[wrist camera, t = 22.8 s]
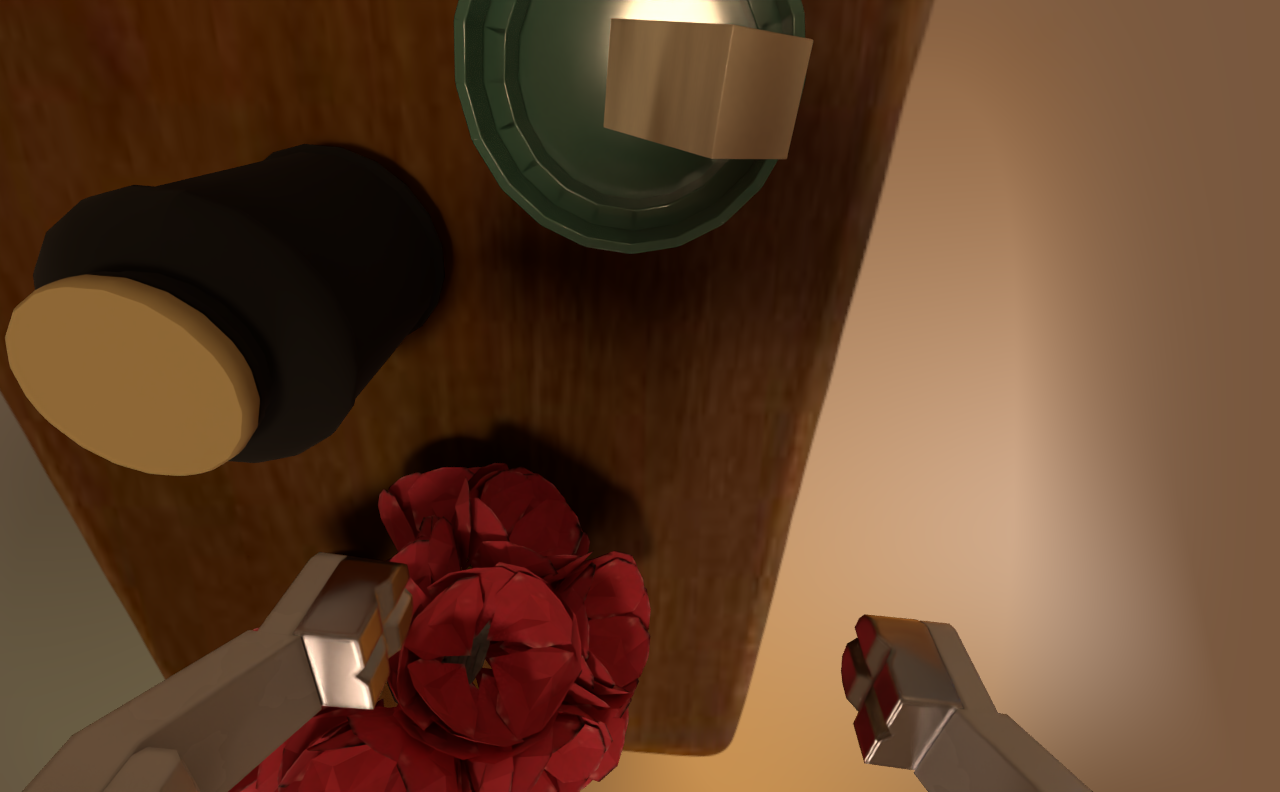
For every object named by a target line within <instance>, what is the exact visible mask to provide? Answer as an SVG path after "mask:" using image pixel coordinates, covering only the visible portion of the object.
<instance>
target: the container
mask: <svg viewBox="0 0 1280 792" xmlns="http://www.w3.org/2000/svg"><path fill="white" fill-rule="evenodd" d="M444 277H445V272H444V262H443V251H442V244H441V242H440V239H439V237H438V235H437V232H436V230H435V227H434V225H433V223H432V220H431V218H430V215H429V213H428V212H427V211H426V210H425V208H424V207H423V206H422V204H421V203H420V202H419V200H418V199H417V198H416V197H415V195H414V194H413V193H412V191H411V190H410V189H409V188H408V186H407V185H406V184H405V183H403V182H402V181H401V180H399V179H398V178H397V177H395V176H394V175H393V174H392V173H390V172H389V171H388V170H386V169H385V168H384V167H383V166H381V165H380V164H379V163H377V162H375V161H373V160H371V159H368V158H366V157H363V156H361V155H359V154H356V153H354V152H351V151H349V150H346V149H344V148H340V147H330V146H319V145H308V144H303V145H299V146H295V147H292V148H288V149H284V150H281V151H277V152H273V153H272V154H271V155H270V156H268V157H267V158H266V159H265V160H264V161H261V162H257V163H253V164H249V165H245V166H240V167H236V168H232V169H228V170H223V171H219V172H215V173H211V174H207V175H202V176H198V177H194V178H190V179H185V180H181V181H177V182H173V183H169V184H164V185H160V186H156V187H152V186H141V185H131V186H128V187H124V188H121V189H117V190H113V191H110V192H106V193H102V194H99V195H95V196H91V197H88V198H86V199H83V200H81V201H80V202H79V203H78V204H77V205H76V206H75V207H73V208H72V209H71V210H70V211H69V212H68V213H67V214H66V215H65V216H64V217H63V218H61V219H60V220H59V221H58V222H57V223H56V224H55V225H54V226H53V227H52V228H50V229H49V230H48V231H47V232H46V235H45V238H44V241H43V244H42V247H41V251H40V254H39V257H38V260H37V263H36V266H35V270H34V274H33V278H34V285H35V291H34V292H33V293H32V294H30V295H29V296H28V297H27V298H26V299H25V300H23V301H22V302H21V303H20V304H19V305H18V306H17V307H15V308H14V311H13V314H12V317H11V320H10V323H9V327H8V330H7V333H6V336H5V340H6V346H7V352H8V358H9V364H10V368H11V370H12V371H13V373H14V375H15V377H16V379H17V380H18V382H19V384H20V386H21V388H22V390H23V391H24V393H25V395H26V397H27V398H28V399H29V400H30V402H31V403H32V404H33V405H34V407H35V408H36V409H37V410H38V411H39V412H40V413H41V414H42V415H43V416H44V417H45V418H46V419H47V420H48V421H49V422H50V423H51V424H52V425H53V426H55V427H56V428H57V429H59V430H60V431H61V432H63V433H64V434H65V435H67V436H68V437H69V438H71V439H72V440H73V441H75V442H76V443H77V444H79V445H80V446H81V447H83V448H85V449H87V450H89V451H91V452H93V453H95V454H97V455H99V456H101V457H103V458H105V459H107V460H109V461H111V462H113V463H115V464H118V465H122V466H125V467H129V468H132V469H135V470H139V471H142V472H146V473H149V474H162V475H175V476H185V475H193V474H200V473H204V472H208V471H211V470H214V469H215V468H217V467H219V466H220V465H222V464H223V463H225V462H227V461H236V462H249V463H258V462H264V461H269V460H274V459H280V458H285V457H290V456H295V455H298V454H300V453H302V452H304V451H305V450H307V449H309V448H310V447H312V446H314V445H315V444H317V443H319V442H320V441H322V440H324V439H325V438H327V437H329V436H330V435H332V434H333V433H334V432H335V431H336V429H337V428H338V427H339V425H340V424H341V422H342V421H343V420H344V418H345V417H346V415H347V414H348V413H349V411H350V410H351V408H352V407H353V406H354V402H355V398H356V397H357V396H358V395H359V394H360V392H361V391H362V390H363V389H364V387H365V386H366V385H367V384H368V383H369V381H370V380H371V379H372V378H373V376H374V375H375V374H376V373H377V372H378V370H379V369H380V368H381V367H382V365H383V364H384V363H385V362H386V360H387V359H388V358H389V357H390V356H391V354H392V353H393V352H394V351H395V349H396V348H397V347H398V346H399V345H400V343H401V342H402V341H403V340H404V338H405V337H406V336H407V335H408V334H410V333H411V332H413V331H415V330H416V329H418V328H419V327H421V326H422V325H423V324H424V323H425V321H426V320H427V318H428V317H429V316H430V314H431V313H432V311H433V310H434V309H435V307H436V306H437V304H438V301H439V297H440V293H441V289H442V285H443V281H444Z"/></svg>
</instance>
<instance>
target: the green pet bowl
mask: <svg viewBox="0 0 1280 792" xmlns="http://www.w3.org/2000/svg"><path fill="white" fill-rule="evenodd" d="M454 18H455V19H454V57H455V82H456V83H455V84H456V88H457V91H458V95H459V98H460V102H461V105H462V108H463V112H464V115H465V119H466V122H467V125H468V129H469V132H470V136H471V139H472V141H473V143H474V145H475V147H476V148H477V150H478V151H479V153H480V155H481V156H482V158H483V160H484V161H485V163H486V165H487V166H488V168H489V169H490V171H491V173H492V174H493V176H494V178H495V179H496V181H497V182H498V184H499V186H500V187H501V189H502V190H503V191H504V192H505V193H506V194H507V195H508V196H510V197H511V198H512V199H513V200H514V201H515V202H516V203H517V204H518V205H519V206H520V207H521V208H522V209H524V210H525V211H526V212H527V213H528V214H529V215H530V216H531V217H532V218H533V219H534V220H535V221H537V222H538V223H539V224H541V226H543V227H545V228H548V229H550V230H552V231H554V232H556V233H558V234H560V235H562V236H564V237H566V238H568V239H570V240H572V241H574V242H576V243H578V244H580V245H582V246H585V247H589V248H595V249H602V250H608V251H615V252H621V253H627V254H636V253H642V252H649V251H655V250H661V249H668V248H674V247H678V246H681V245H683V244H685V243H687V242H689V241H691V240H693V239H695V238H697V237H699V236H701V235H703V234H705V233H707V232H709V231H711V230H713V229H715V228H717V227H719V226H721V225H723V224H724V223H726V222H727V221H728V220H729V219H730V218H731V217H732V216H733V215H734V214H735V213H736V212H737V211H738V210H739V209H740V208H741V207H742V206H743V205H744V204H745V203H746V202H748V201H749V200H750V199H751V198H752V197H753V196H754V195H755V194H756V193H757V192H758V191H759V190H760V189H761V187H763V185H764V183H765V182H766V180H767V178H768V176H769V175H770V173H771V171H772V169H773V168H774V166H775V164H776V163H777V161H778V159H711V158H707V157H704V156H700V155H697V154H694V153H690V152H687V151H683V150H680V149H676V148H673V147H669V146H666V145H663V144H659V143H656V142H652V141H649V140H645V139H642V138H638V137H635V136H632V135H628V134H625V133H621V132H618V131H614V130H611V129H608V128H604V114H605V99H606V85H607V71H608V56H609V42H610V28H611V19H612V18H619V19H638V20H656V21H675V22H694V23H712V24H731V25H738V26H744V27H749V28H754V29H760V30H765V31H770V32H776V33H781V34H787V35H792V36H797V37H803V38H805V13H804V8H803V5H802V2H801V0H459V1H458V4H457V8H456V12H455V16H454ZM805 77H806V76H805ZM805 81H806V78H805V80H804V84H803V88H804V85H805ZM802 92H803V89H802ZM801 96H802V93H801ZM800 100H801V98H800ZM799 104H800V102H799ZM798 108H799V107H798ZM797 112H798V111H797Z"/></svg>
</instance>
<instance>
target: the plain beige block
mask: <svg viewBox="0 0 1280 792" xmlns="http://www.w3.org/2000/svg"><path fill="white" fill-rule="evenodd" d="M812 44H813V40H812V39H808V38H803V37H797V36H792V35H787V34H781V33H776V32H770V31H765V30H760V29H754V28H749V27H744V26H738V25H731V24H712V23H694V22H675V21H656V20H638V19H619V18H612V19H611V28H610V42H609V56H608V71H607V85H606V99H605V114H604V128H608V129H611V130H614V131H618V132H621V133H625V134H628V135H632V136H635V137H638V138H642V139H645V140H649V141H652V142H656V143H659V144H663V145H666V146H669V147H673V148H676V149H680V150H683V151H687V152H690V153H694V154H697V155H700V156H704V157H707V158H711V159H787V156H788V151H789V147H790V142H791V138H792V133H793V129H794V125H795V120H796V116H797V111H798V107H799V102H800V98H801V93H802V89H803V84H804V80H805V76H806V71H807V67H808V62H809V58H810V53H811V49H812Z"/></svg>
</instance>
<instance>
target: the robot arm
mask: <svg viewBox="0 0 1280 792" xmlns="http://www.w3.org/2000/svg"><path fill="white" fill-rule="evenodd" d="M409 578H410V575H409V570H408V565H407V564H403V563H397V562H390V561H383V560H375V559H368V558H361V557H354V556H345V555H337V554H330V553H322V552H319V553H318V554H316V555H315V556H313V557H312V558H311V559H310V560H309V561H308V562H307V564H306V565H305V567H304V568H303V569H302V571H301V572H300V573H299V575H298V576H297V577H296V579H295V580H294V582H293V583H292V584H291V586H290V587H289V588H288V590H287V591H286V593H285V594H284V595H283V597H282V598H281V599H280V601H279V602H278V603H277V605H276V606H275V608H274V609H273V610H272V612H271V613H270V614H269V616H268V617H267V619H266V620H265V621H264V623H263V624H262V625H261V627H260V628H259V630H258V631H251V630H248V631H246V632H245V633H243V634H241V635H240V636H238V637H236V638H235V639H233V640H231V641H230V642H228V643H226V644H225V645H223V646H221V647H220V648H218V649H216V650H214V651H213V652H211V653H209V654H208V655H206V656H204V657H203V658H201V659H199V660H198V661H196V662H194V663H193V664H191V665H189V666H188V667H186V668H184V669H183V670H181V671H179V672H178V673H176V674H174V675H173V676H171V677H169V678H167V679H166V680H164V681H162V682H161V683H159V684H157V685H156V686H154V687H153V688H151V689H149V690H147V691H146V692H144V693H142V694H141V695H139V696H137V697H136V698H134V699H132V700H131V701H129V702H127V703H126V704H124V705H122V706H121V707H119V708H117V709H116V710H114V711H112V712H110V713H109V714H107V715H106V716H104V717H102V718H100V719H99V720H97V721H96V722H94V723H92V724H90V725H89V726H87V727H85V728H84V729H82V730H80V731H79V732H77V733H75V734H74V735H72V736H71V737H70V738H69V740H68V741H67V742H66V743H65V744H64V745H63V746H62V747H61V749H60V750H59V751H58V752H57V753H56V754H55V755H54V756H53V757H52V759H51V760H50V761H49V762H48V763H47V764H46V765H45V766H44V768H43V769H42V770H41V771H40V772H39V773H38V774H37V775H36V777H35V778H34V779H33V780H32V781H31V782H30V783H29V785H28V786H27V787H26V788H25V789H24V790H23V791H22V792H228V791H229V790H231V789H232V788H233V787H234V786H235V785H236V784H237V783H238V782H240V781H241V780H242V779H243V778H244V777H245V776H246V775H248V774H249V773H250V772H251V771H252V770H253V769H254V768H255V767H257V766H258V765H259V764H260V763H261V762H262V761H263V760H265V759H266V758H267V757H268V756H269V755H270V754H271V753H272V752H274V751H275V750H276V749H277V748H278V747H279V746H280V745H282V744H283V743H284V742H285V741H286V740H287V739H288V738H290V737H291V736H292V735H293V734H294V733H295V732H296V731H297V730H299V729H300V728H301V727H302V726H303V725H304V724H305V723H307V722H308V721H309V720H310V719H311V718H312V717H313V716H314V715H316V714H317V713H318V712H319V711H320V710H321V709H322V706H333V707H345V708H358V709H370V710H374V708H375V705H376V703H377V701H378V699H379V697H380V695H381V692H382V690H383V688H384V686H385V684H386V682H387V680H388V677H389V675H390V673H391V671H390V666H389V660H388V659H389V658H390V657H391V656H393V655H394V654H396V653H397V652H398V651H400V650H401V649H402V647H403V645H404V642H405V640H406V638H407V635H408V633H409V629H410V625H411V621H412V617H413V605H414V604H413V596H412V594H411V593H410V592H409V591H408V590H407V589H406V588H405V587H406V584H407V582H408V580H409ZM855 630H856V633H857V637H858V638H856V639H854V640H853V641H851V642H849V643H847V646H846V648H845V651H844V653H843V656H842V668H841V674H842V683H843V687H844V691H845V695H846V698H847V700H848V701H849V702H850V703H851V704H852V705H853V706H854V707H855V708H856V710H857V711H858V714H857V716H856V719H855V721H854V723H853V724H854V728H855V731H856V735H857V738H858V742H859V745H860V749H861V753H862V756H863V760H864V763H866V764H874V765H880V766H888V767H895V768H902V769H909V770H915V772H914V774H915V775H916V777H917V778H918V779H919V780H920V782H921V783H922V784H923V786H924V787H925V788H926V790H927V791H928V792H1093V791H1092V790H1090V789H1089V788H1088V787H1087V786H1086V785H1085V784H1084V783H1082V781H1080V780H1079V779H1078V778H1077V777H1076V776H1075V775H1074V774H1073V773H1072V772H1070V771H1069V770H1068V769H1067V768H1066V767H1065V766H1064V765H1063V764H1062V763H1060V762H1059V761H1058V760H1057V759H1056V758H1055V757H1054V756H1053V755H1051V754H1050V753H1049V752H1048V751H1047V750H1046V749H1045V748H1044V747H1043V746H1042V745H1040V744H1039V743H1038V742H1037V741H1036V740H1035V739H1034V738H1033V737H1031V736H1030V735H1029V734H1028V733H1027V732H1026V731H1025V730H1024V729H1023V728H1021V727H1020V726H1019V725H1018V724H1017V723H1016V722H1015V721H1014V720H1012V719H1011V718H1010V717H1009V716H1008V715H1007V714H1001V713H998V712H997V710H996V708H995V706H994V704H993V702H992V700H991V698H990V696H989V694H988V692H987V691H986V689H985V687H984V685H983V683H982V681H981V679H980V677H979V675H978V673H977V671H976V669H975V667H974V665H973V663H972V661H971V659H970V657H969V655H968V653H967V651H966V649H965V647H964V645H963V644H962V641H961V639H960V638H959V636H958V633H957V632H956V630H955V629H954V628H953V627H952V626H951V625H950V624H947V623H937V622H929V621H918V620H915V619H905V618H895V617H885V616H875V615H863V616H862V617H860V618H859V620H858V622H857V624H856V626H855Z"/></svg>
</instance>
